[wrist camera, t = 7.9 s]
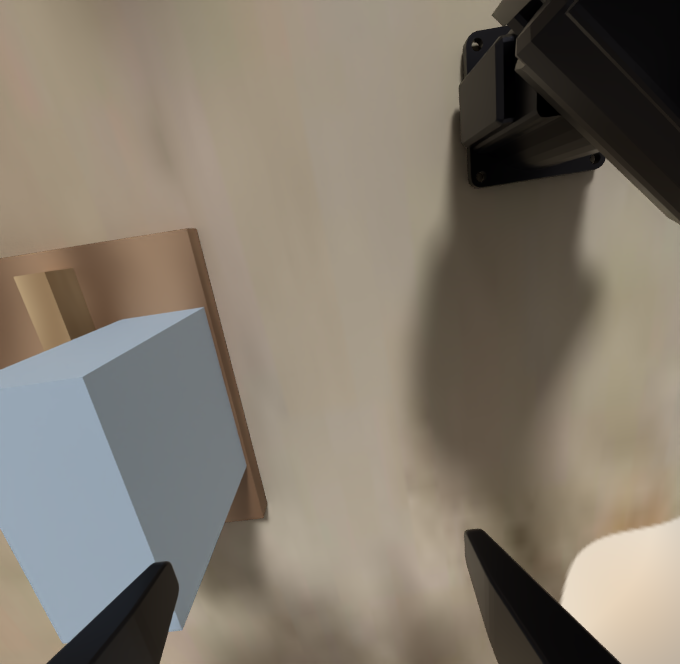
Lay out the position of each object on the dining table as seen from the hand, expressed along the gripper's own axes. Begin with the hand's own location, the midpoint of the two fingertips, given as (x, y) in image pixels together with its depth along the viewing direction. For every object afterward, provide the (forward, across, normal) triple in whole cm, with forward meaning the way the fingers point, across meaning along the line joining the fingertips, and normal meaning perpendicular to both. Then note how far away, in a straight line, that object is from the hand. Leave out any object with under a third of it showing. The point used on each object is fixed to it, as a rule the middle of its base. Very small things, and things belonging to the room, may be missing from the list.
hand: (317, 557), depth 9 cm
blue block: (+11, +8, 0) cm, 14 cm away
